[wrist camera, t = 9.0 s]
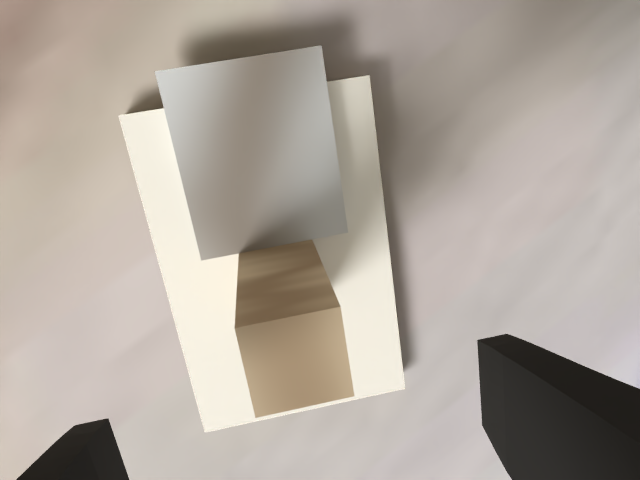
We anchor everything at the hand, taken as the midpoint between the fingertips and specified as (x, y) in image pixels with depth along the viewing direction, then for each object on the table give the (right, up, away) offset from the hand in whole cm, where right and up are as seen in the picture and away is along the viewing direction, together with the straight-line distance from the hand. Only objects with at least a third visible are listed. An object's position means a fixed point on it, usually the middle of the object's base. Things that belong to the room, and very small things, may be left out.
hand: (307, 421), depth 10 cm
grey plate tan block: (-2, +5, +7) cm, 9 cm away
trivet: (-1, +3, +9) cm, 9 cm away
